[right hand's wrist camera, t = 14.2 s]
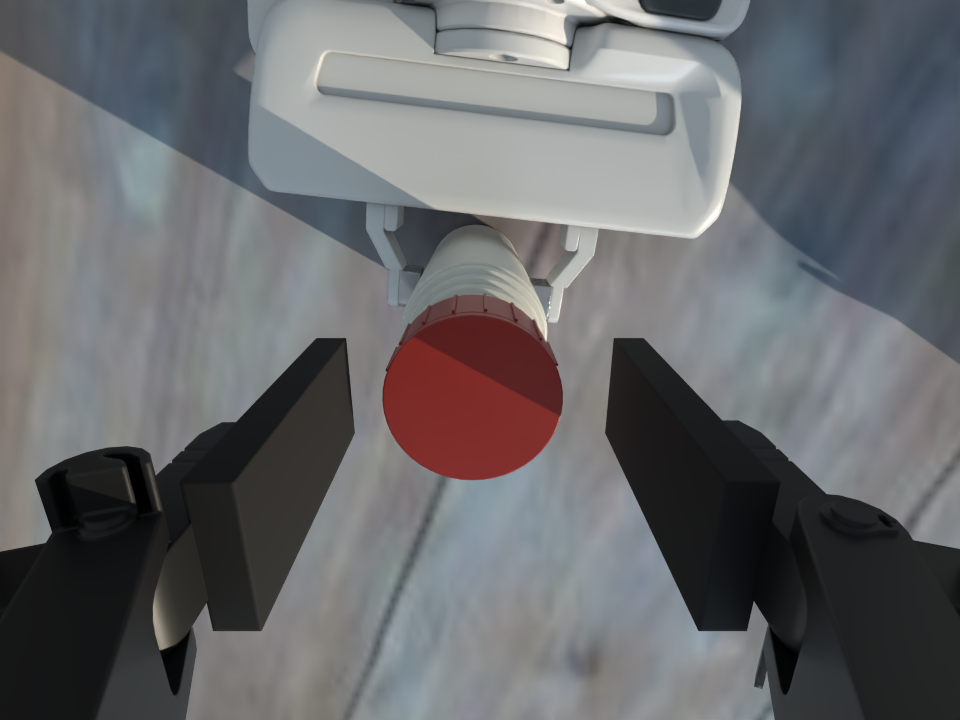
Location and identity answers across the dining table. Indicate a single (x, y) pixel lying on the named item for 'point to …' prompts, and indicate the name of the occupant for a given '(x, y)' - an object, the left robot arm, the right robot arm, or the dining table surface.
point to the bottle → (475, 274)
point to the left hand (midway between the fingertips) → (473, 311)
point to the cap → (472, 388)
